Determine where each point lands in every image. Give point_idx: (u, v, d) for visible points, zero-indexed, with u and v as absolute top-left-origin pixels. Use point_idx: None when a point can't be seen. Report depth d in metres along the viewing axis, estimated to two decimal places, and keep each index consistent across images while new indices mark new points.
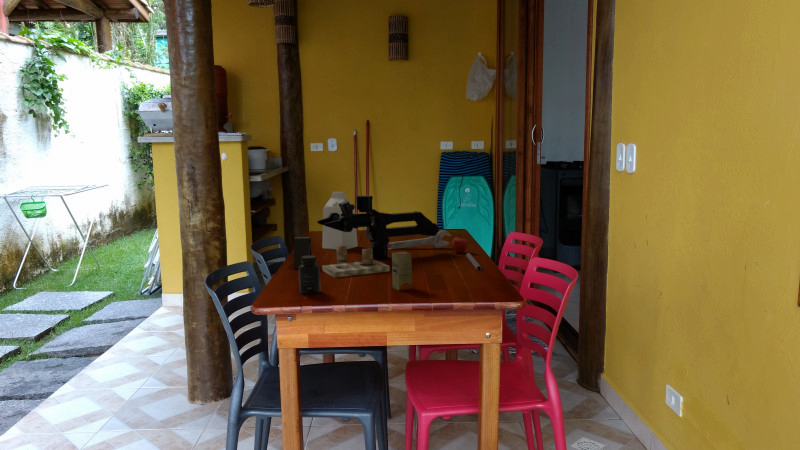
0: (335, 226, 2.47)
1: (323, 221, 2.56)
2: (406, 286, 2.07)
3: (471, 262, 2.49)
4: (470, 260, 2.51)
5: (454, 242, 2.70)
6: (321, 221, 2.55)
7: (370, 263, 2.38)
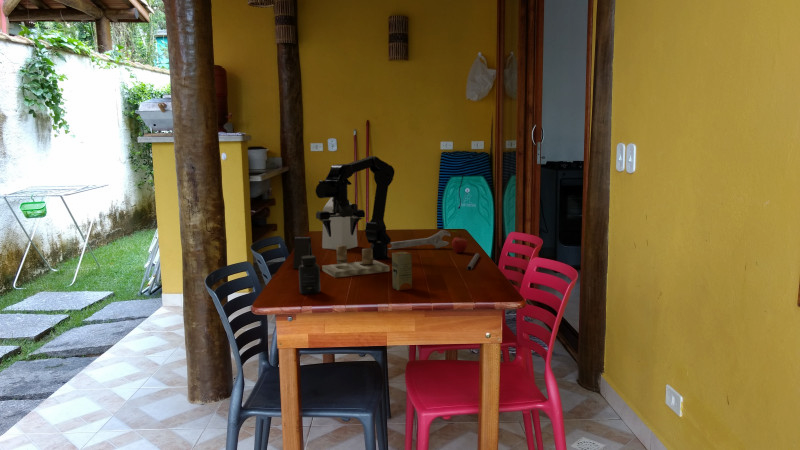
0: None
1: None
2: (406, 286, 2.07)
3: None
4: None
5: (454, 242, 2.70)
6: None
7: (370, 263, 2.38)
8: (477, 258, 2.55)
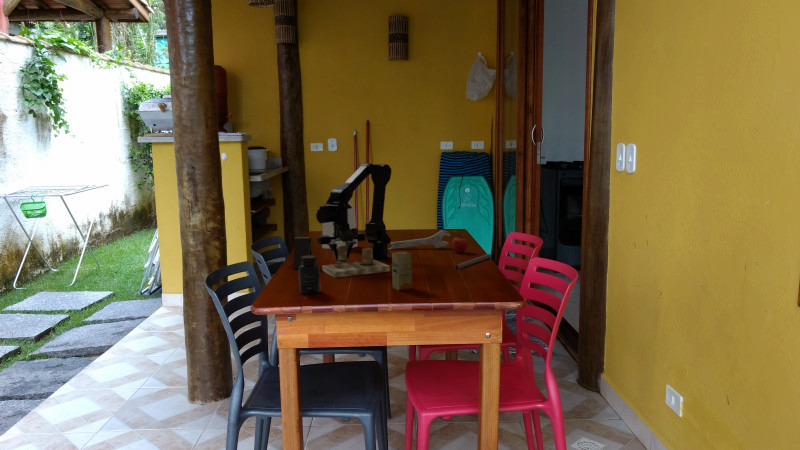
0: None
1: None
2: (406, 286, 2.07)
3: None
4: None
5: (454, 242, 2.70)
6: None
7: (370, 263, 2.38)
8: (482, 258, 2.54)
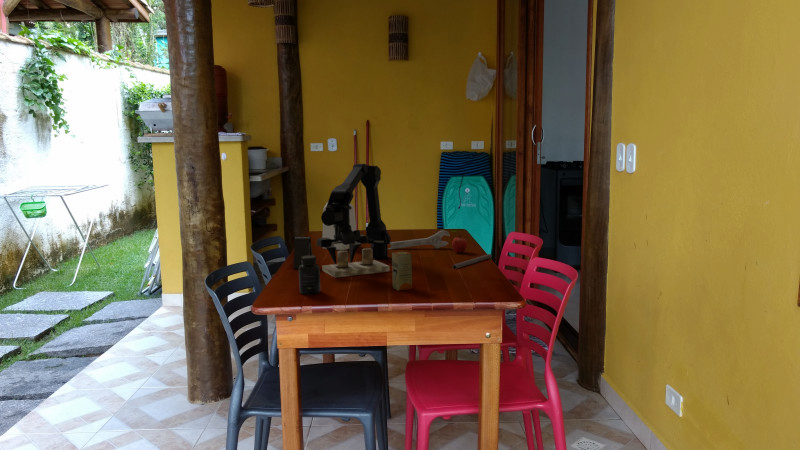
0: None
1: None
2: (406, 286, 2.07)
3: None
4: None
5: (454, 242, 2.70)
6: None
7: (370, 263, 2.38)
8: (482, 258, 2.54)
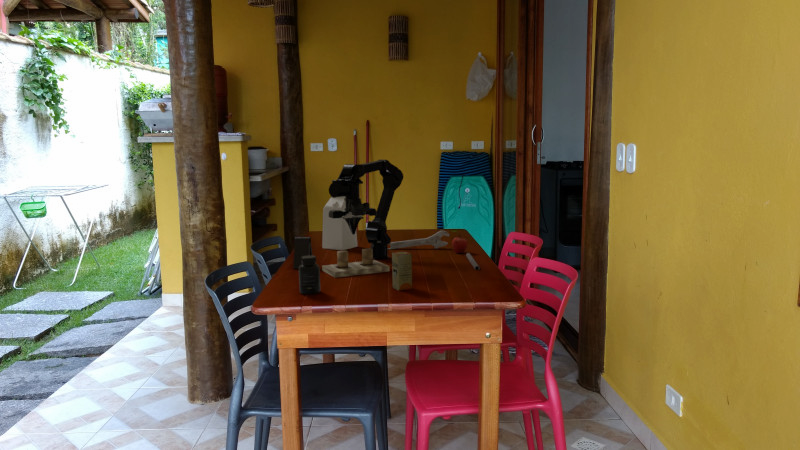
0: None
1: None
2: (406, 286, 2.07)
3: (470, 262, 2.49)
4: (469, 260, 2.52)
5: (454, 242, 2.70)
6: None
7: (370, 263, 2.38)
8: None
